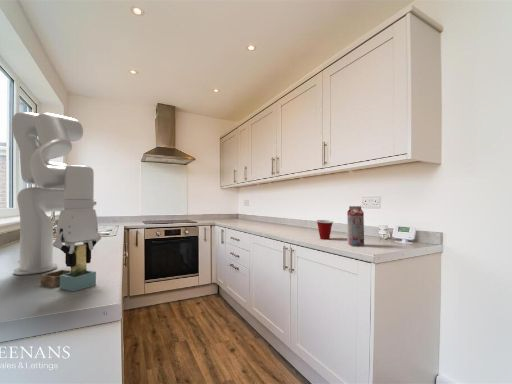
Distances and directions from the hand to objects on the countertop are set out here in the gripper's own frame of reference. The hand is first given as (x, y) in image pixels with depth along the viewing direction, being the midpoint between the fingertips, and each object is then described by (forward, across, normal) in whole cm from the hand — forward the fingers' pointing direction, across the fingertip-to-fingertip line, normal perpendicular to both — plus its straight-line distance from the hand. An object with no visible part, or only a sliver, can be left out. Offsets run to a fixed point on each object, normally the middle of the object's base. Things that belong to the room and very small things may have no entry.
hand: (78, 263), depth 78 cm
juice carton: (+7, -102, +78) cm, 129 cm away
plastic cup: (+7, -119, +59) cm, 133 cm away
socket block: (+7, 0, -10) cm, 12 cm away
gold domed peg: (+4, 0, 0) cm, 4 cm away
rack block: (+7, 0, 0) cm, 7 cm away
